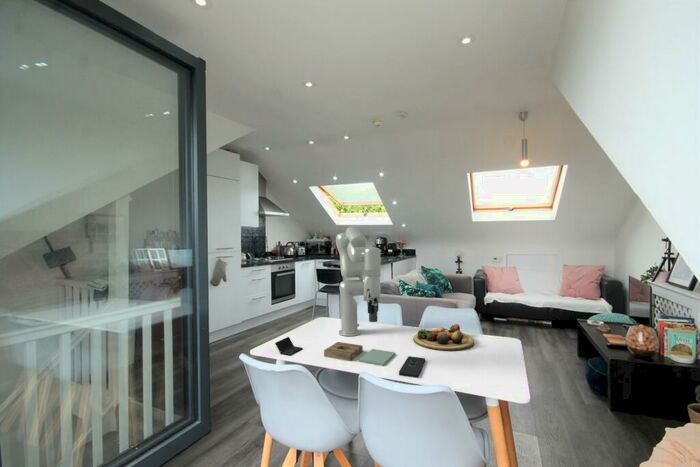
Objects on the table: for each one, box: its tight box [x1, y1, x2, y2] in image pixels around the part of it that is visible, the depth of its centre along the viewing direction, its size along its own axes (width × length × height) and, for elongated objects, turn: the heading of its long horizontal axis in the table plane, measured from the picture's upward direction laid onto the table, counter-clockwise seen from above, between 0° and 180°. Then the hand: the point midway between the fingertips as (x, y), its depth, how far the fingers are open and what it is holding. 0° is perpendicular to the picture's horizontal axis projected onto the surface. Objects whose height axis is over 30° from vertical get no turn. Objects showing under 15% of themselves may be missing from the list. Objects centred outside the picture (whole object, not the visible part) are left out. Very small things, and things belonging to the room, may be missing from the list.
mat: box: [358, 348, 396, 367], centre depth 156 cm, size 16×12×1 cm
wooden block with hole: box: [323, 341, 364, 362], centre depth 161 cm, size 14×14×3 cm
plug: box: [368, 301, 378, 323], centre depth 156 cm, size 4×4×9 cm
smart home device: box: [398, 355, 426, 379], centre depth 144 cm, size 8×2×20 cm
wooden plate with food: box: [412, 323, 475, 352], centre depth 179 cm, size 32×32×8 cm
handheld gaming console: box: [274, 336, 303, 357], centre depth 167 cm, size 12×7×10 cm
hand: (373, 311), depth 156 cm, fingers closed on plug, 4 cm apart
